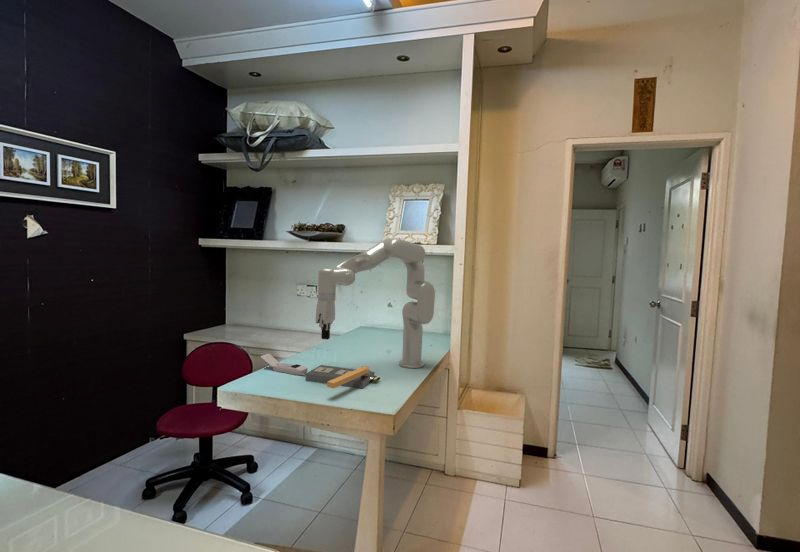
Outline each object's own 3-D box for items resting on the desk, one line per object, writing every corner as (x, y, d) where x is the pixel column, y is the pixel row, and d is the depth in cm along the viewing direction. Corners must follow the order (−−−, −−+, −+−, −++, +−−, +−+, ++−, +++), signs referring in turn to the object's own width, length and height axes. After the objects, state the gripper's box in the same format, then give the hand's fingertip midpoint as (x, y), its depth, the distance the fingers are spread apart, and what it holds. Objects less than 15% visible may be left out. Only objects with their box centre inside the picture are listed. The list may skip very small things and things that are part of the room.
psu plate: (320, 371, 184) (321, 362, 184) (374, 378, 177) (374, 369, 177) (305, 380, 171) (305, 371, 170) (362, 388, 163) (363, 379, 163)
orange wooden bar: (326, 387, 151) (326, 381, 151) (363, 371, 173) (363, 365, 173) (334, 389, 149) (334, 382, 149) (370, 372, 171) (370, 367, 171)
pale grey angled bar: (268, 353, 190) (312, 360, 180) (268, 365, 190) (312, 373, 181) (259, 356, 184) (304, 364, 175) (259, 368, 185) (304, 377, 175)
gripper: (326, 294, 182) (325, 334, 183) (310, 298, 167) (309, 341, 169) (341, 295, 180) (340, 336, 181) (326, 299, 165) (325, 343, 167)
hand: (325, 338), depth 175 cm, fingers closed
